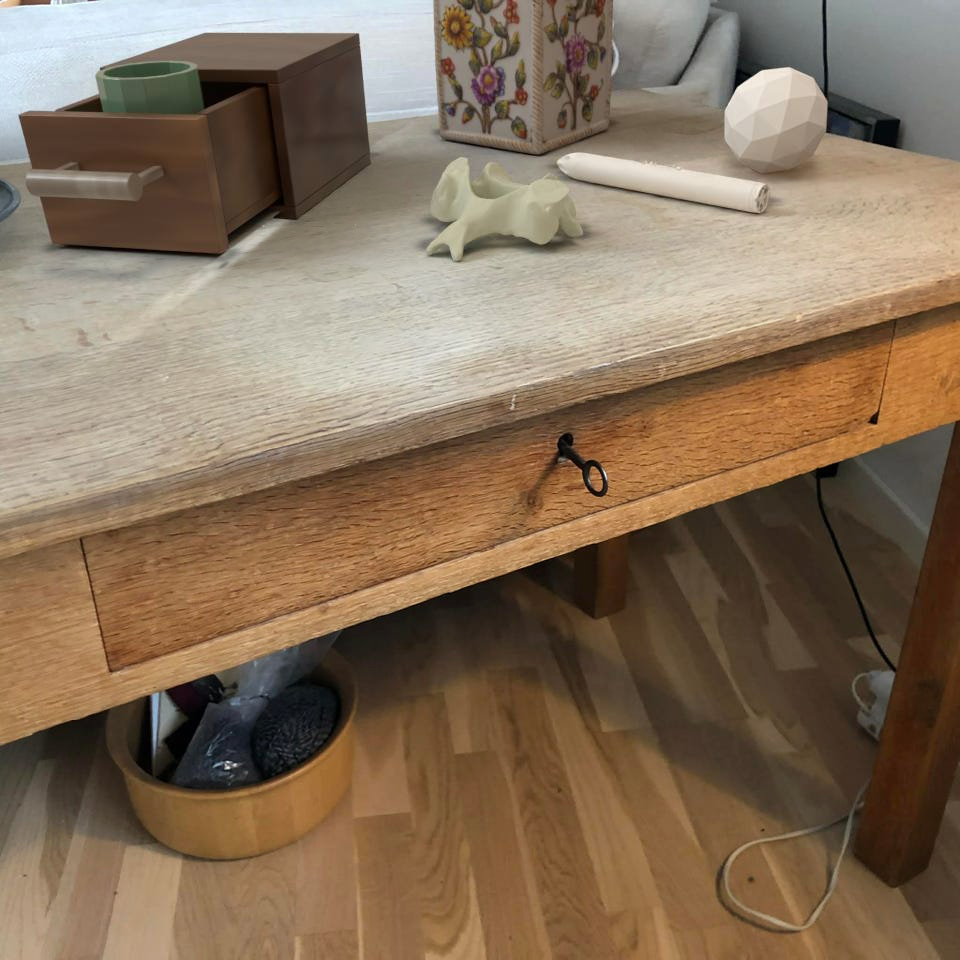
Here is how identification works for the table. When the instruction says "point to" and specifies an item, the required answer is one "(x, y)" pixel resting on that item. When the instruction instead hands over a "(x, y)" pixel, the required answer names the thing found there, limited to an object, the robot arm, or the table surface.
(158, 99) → the pen cup
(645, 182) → the marker
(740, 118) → the geometric ball
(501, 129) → the decorative jar
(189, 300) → the table surface
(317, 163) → the cabinet
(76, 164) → the drawer
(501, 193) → the spine bone
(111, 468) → the table surface
